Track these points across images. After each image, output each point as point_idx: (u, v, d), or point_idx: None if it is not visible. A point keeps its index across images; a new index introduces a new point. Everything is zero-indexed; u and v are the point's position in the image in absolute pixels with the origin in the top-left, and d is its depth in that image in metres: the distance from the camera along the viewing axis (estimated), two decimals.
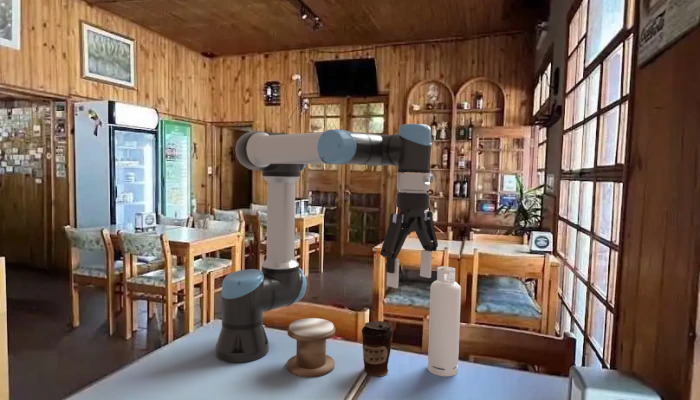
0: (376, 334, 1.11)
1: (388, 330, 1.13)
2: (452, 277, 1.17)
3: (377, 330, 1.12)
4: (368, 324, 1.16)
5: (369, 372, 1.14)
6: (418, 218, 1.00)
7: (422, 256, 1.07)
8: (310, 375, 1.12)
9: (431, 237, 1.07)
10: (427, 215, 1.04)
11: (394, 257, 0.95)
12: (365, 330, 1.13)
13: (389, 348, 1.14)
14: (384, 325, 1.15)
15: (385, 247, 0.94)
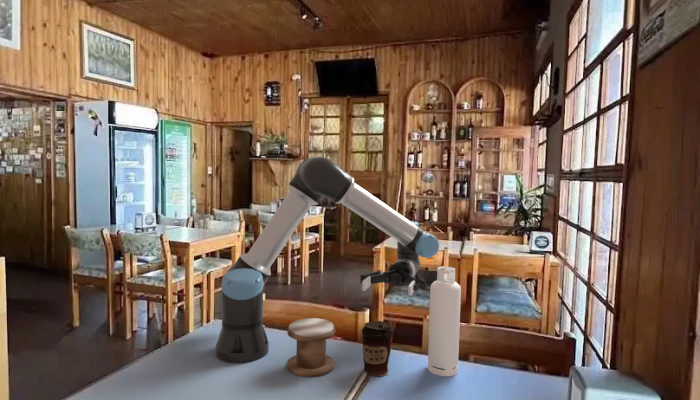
0: (376, 334, 1.11)
1: (388, 330, 1.13)
2: (452, 277, 1.17)
3: (377, 330, 1.12)
4: (368, 324, 1.16)
5: (369, 372, 1.14)
6: None
7: (369, 279, 1.30)
8: (310, 375, 1.12)
9: None
10: None
11: None
12: (365, 330, 1.13)
13: (389, 348, 1.14)
14: (384, 325, 1.15)
15: None
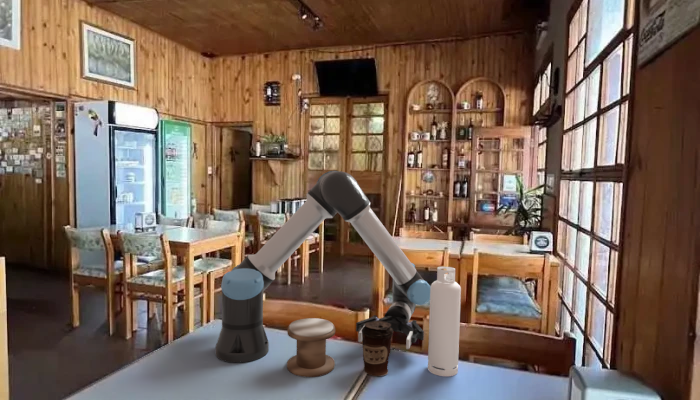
0: (376, 334, 1.11)
1: (388, 330, 1.13)
2: (452, 277, 1.17)
3: (377, 330, 1.12)
4: (368, 324, 1.16)
5: (369, 372, 1.14)
6: None
7: None
8: (310, 375, 1.12)
9: None
10: None
11: (415, 339, 1.24)
12: (365, 330, 1.13)
13: (389, 348, 1.14)
14: (384, 325, 1.15)
15: None
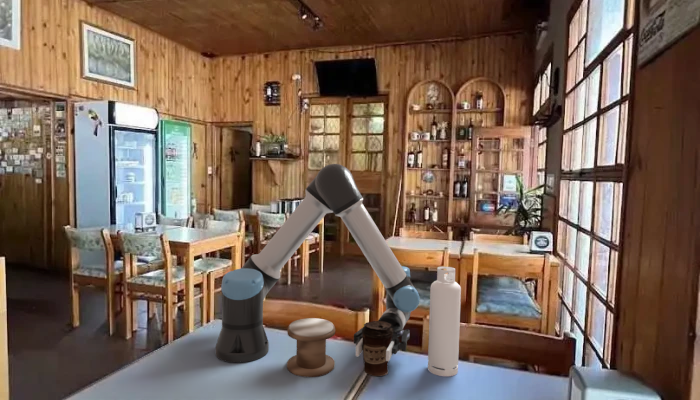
0: (376, 334, 1.11)
1: (388, 330, 1.13)
2: (452, 277, 1.17)
3: (377, 330, 1.12)
4: (368, 324, 1.16)
5: (369, 372, 1.14)
6: None
7: None
8: (310, 375, 1.12)
9: None
10: None
11: (397, 350, 1.16)
12: (365, 330, 1.13)
13: None
14: (384, 325, 1.15)
15: None
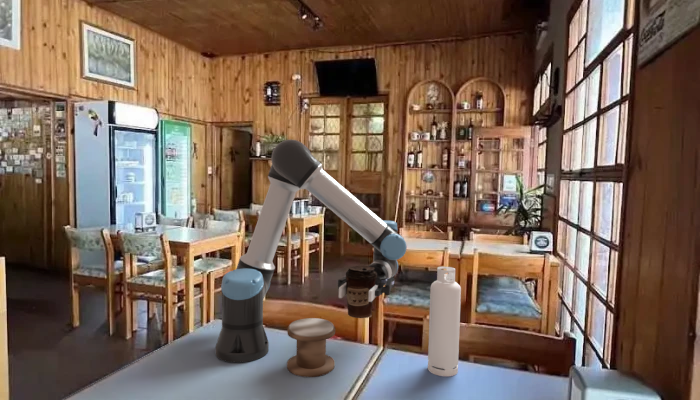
0: (359, 275, 1.11)
1: (372, 272, 1.13)
2: (452, 277, 1.17)
3: (360, 272, 1.12)
4: (352, 267, 1.16)
5: (352, 314, 1.14)
6: None
7: None
8: (310, 375, 1.12)
9: None
10: None
11: (380, 294, 1.16)
12: (349, 272, 1.13)
13: None
14: (368, 268, 1.15)
15: None
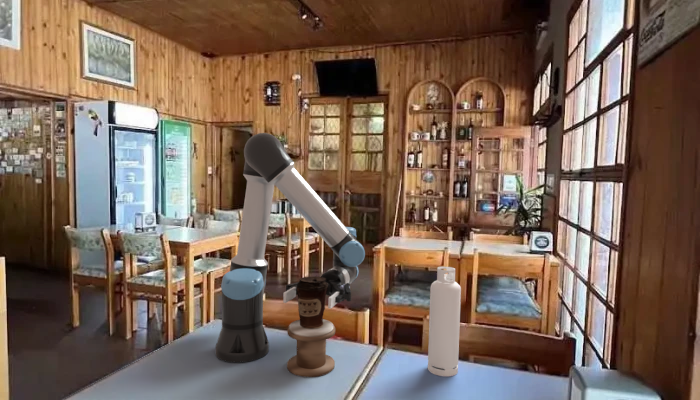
0: (308, 286, 1.13)
1: (322, 283, 1.15)
2: (452, 277, 1.17)
3: (310, 283, 1.14)
4: (303, 278, 1.18)
5: (303, 325, 1.16)
6: None
7: (293, 290, 1.21)
8: (310, 375, 1.12)
9: None
10: None
11: (342, 300, 1.18)
12: (299, 283, 1.15)
13: (323, 301, 1.16)
14: (319, 279, 1.17)
15: None
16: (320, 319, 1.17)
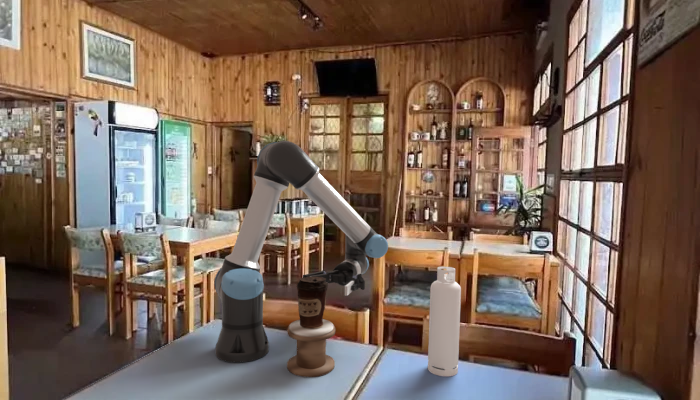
0: (309, 286, 1.13)
1: (322, 283, 1.15)
2: (452, 277, 1.17)
3: (310, 283, 1.14)
4: (303, 278, 1.18)
5: (303, 325, 1.16)
6: None
7: None
8: (310, 375, 1.12)
9: None
10: None
11: None
12: (299, 283, 1.15)
13: (323, 301, 1.16)
14: (319, 279, 1.17)
15: None
16: (320, 319, 1.17)
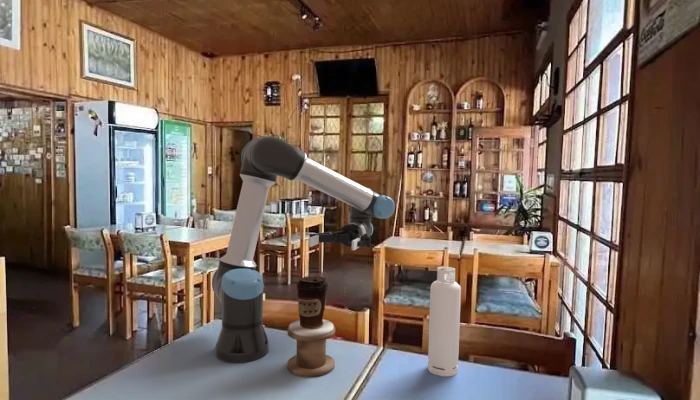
0: (309, 286, 1.13)
1: (322, 283, 1.15)
2: (452, 277, 1.17)
3: (310, 283, 1.14)
4: (303, 278, 1.18)
5: (303, 325, 1.16)
6: None
7: (316, 237, 1.34)
8: (310, 375, 1.12)
9: None
10: None
11: None
12: (299, 283, 1.15)
13: (323, 301, 1.16)
14: (319, 279, 1.17)
15: None
16: (320, 319, 1.17)
